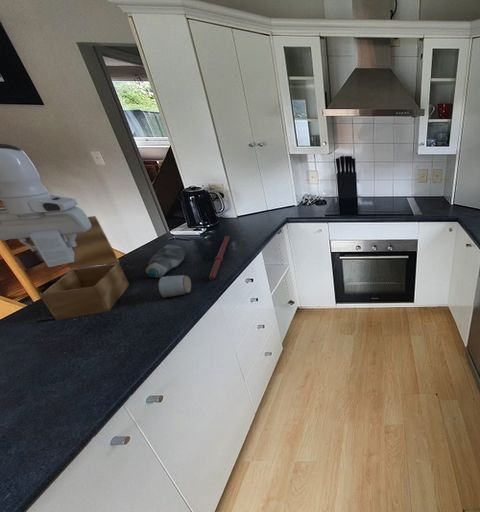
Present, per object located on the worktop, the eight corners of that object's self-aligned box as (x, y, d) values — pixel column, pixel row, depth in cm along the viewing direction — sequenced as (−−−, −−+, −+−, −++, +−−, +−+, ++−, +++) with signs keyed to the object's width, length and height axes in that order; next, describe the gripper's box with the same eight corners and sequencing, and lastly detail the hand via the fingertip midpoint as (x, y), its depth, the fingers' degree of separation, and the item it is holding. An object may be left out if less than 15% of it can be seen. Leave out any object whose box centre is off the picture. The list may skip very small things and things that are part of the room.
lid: (94, 216, 93) (101, 212, 97) (40, 221, 89) (50, 215, 93) (118, 262, 102) (123, 256, 106) (70, 268, 98) (77, 262, 102)
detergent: (160, 257, 129) (132, 283, 107) (156, 243, 126) (127, 267, 104) (192, 256, 132) (171, 281, 111) (189, 242, 130) (167, 266, 108)
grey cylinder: (189, 297, 101) (182, 279, 97) (162, 301, 98) (155, 283, 95) (196, 283, 109) (190, 266, 106) (172, 286, 107) (165, 269, 104)
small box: (50, 259, 86) (31, 227, 81) (75, 253, 90) (59, 223, 85) (47, 268, 81) (27, 235, 76) (74, 262, 84) (57, 230, 80)
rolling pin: (217, 280, 111) (215, 274, 110) (208, 281, 110) (206, 275, 109) (231, 239, 149) (230, 234, 148) (224, 240, 148) (223, 235, 147)
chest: (109, 310, 93) (96, 286, 88) (56, 320, 88) (39, 295, 84) (129, 285, 107) (119, 263, 103) (84, 291, 103) (71, 269, 98)
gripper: (-33, 210, 71) (-1, 257, 77) (70, 204, 78) (92, 247, 84) (-13, 204, 76) (16, 249, 82) (82, 199, 83) (102, 240, 89)
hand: (55, 248), depth 83 cm, fingers closed on small box, 7 cm apart
